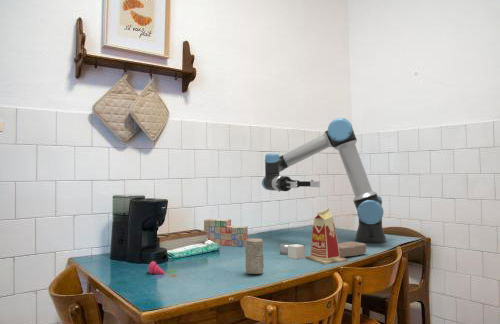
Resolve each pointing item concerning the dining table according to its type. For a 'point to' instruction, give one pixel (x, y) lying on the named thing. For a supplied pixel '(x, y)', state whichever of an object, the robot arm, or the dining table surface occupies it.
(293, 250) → the white cube
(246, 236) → the stack of blocks
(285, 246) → the grey tin
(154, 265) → the toy pieces
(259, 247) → the carving
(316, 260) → the plate
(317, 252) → the milk carton
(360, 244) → the brick
